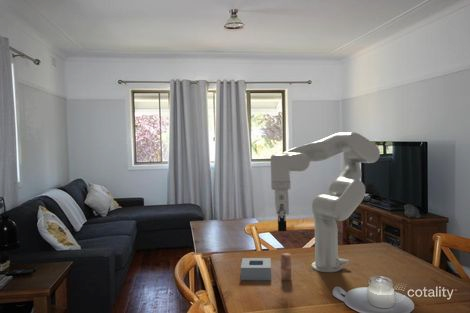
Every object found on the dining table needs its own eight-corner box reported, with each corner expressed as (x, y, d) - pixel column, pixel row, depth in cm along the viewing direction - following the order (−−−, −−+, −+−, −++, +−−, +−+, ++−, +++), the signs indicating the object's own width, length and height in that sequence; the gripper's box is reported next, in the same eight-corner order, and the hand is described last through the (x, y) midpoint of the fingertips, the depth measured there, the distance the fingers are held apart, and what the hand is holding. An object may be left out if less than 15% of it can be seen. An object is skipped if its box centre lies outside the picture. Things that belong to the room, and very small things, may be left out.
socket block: (270, 269, 164) (270, 258, 164) (271, 280, 152) (270, 267, 152) (242, 269, 165) (242, 258, 165) (241, 280, 153) (240, 267, 153)
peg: (290, 277, 155) (290, 253, 154) (291, 281, 151) (291, 256, 150) (280, 277, 155) (280, 253, 155) (281, 281, 151) (280, 256, 151)
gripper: (291, 188, 143) (292, 233, 144) (289, 182, 160) (290, 222, 161) (271, 188, 144) (272, 233, 145) (271, 182, 161) (272, 223, 162)
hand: (282, 227), depth 153 cm, fingers open, 9 cm apart
